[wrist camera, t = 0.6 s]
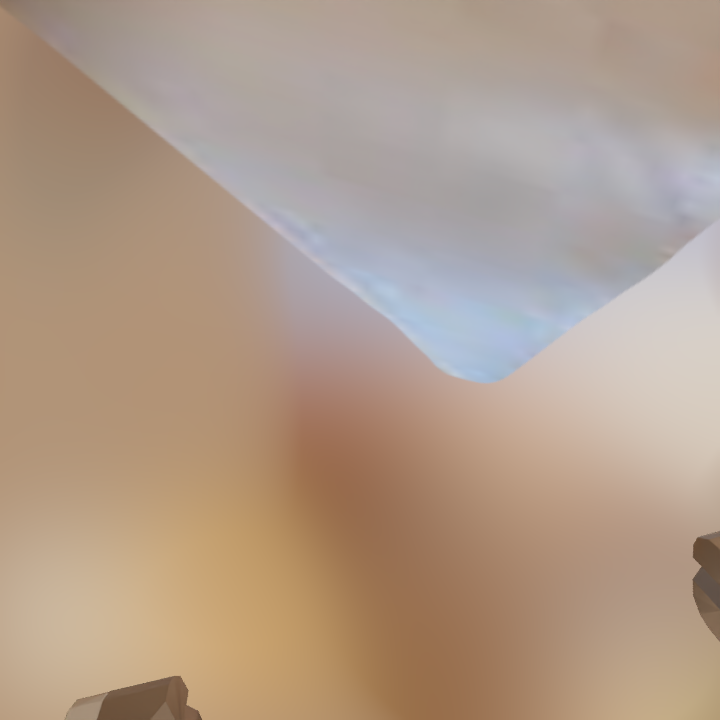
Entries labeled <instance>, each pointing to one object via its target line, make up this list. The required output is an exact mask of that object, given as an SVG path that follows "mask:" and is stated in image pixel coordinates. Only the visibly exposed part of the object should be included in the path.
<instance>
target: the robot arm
mask: <svg viewBox="0 0 720 720" xmlns="http://www.w3.org/2000/svg"><path fill="white" fill-rule="evenodd" d="M693 558H694V559H695V560H696V561H697V562H698V563H699V564H700V565H701V566H702V567H701V568H700V570H699V571H698V573H697V574H696V575H695V577H694V578H693V596H694V599H695V602H696V605H697V607H698V610H699V613H700V615H701V617H702V618H703V620H704V621H705V623H706V625H707V626H708V628H709V629H710V630H711V631H712V633H713V634H714V635H715V636H716V638H717V639H718V640H719V641H720V531H719V532H715V533H712V534H708V535H704V536H701V537H698V538H697V539H696V541H695V543H694V545H693ZM187 697H188V689H187V687H186V685H185V684H184V682H183V680H182V678H181V677H180V676H173V677H168V678H164V679H160V680H156V681H151V682H147V683H143V684H139V685H135V686H130V687H126V688H121V689H117V690H113V691H110V692H107V693H103V694H99V695H95V696H90V697H86V698H82V699H78V700H77V701H76V702H75V703H74V704H73V705H72V707H71V708H70V709H69V711H68V713H67V715H66V718H65V720H202V718H201V716H200V714H199V712H198V711H197V710H195V709H193V708H191V707H189V706H187V705H186V703H187Z"/></svg>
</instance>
